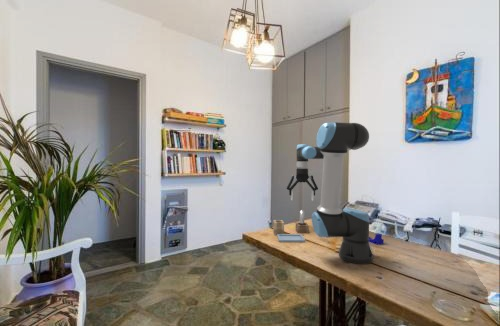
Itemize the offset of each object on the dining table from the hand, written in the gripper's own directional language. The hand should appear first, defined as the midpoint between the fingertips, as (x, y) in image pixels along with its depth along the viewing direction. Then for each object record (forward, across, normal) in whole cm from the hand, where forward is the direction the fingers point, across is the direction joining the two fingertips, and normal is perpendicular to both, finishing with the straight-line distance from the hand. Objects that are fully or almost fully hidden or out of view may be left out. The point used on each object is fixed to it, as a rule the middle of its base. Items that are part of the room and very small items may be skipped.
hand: (302, 200), depth 157 cm
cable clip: (+21, -36, +19) cm, 46 cm away
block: (+20, +16, +5) cm, 26 cm away
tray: (+20, +10, +15) cm, 27 cm away
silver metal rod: (+20, 0, 0) cm, 21 cm away
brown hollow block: (+20, 0, 0) cm, 21 cm away
